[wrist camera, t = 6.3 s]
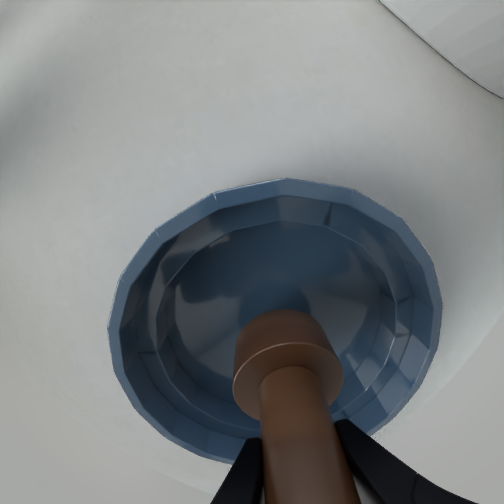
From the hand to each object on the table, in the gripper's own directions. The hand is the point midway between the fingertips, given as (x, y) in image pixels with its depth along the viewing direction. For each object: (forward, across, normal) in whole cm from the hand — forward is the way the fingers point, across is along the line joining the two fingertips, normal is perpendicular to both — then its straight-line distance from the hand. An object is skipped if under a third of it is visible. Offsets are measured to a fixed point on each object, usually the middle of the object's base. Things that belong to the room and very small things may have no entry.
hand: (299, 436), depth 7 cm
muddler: (+6, 0, 0) cm, 6 cm away
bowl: (+8, 0, 0) cm, 8 cm away
